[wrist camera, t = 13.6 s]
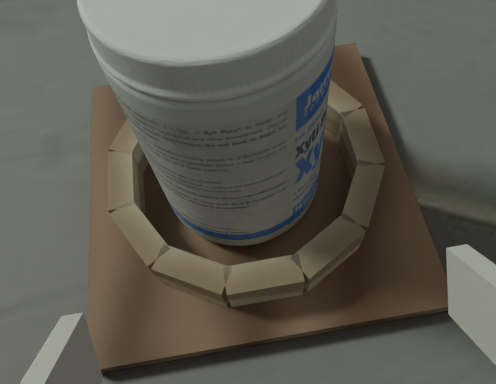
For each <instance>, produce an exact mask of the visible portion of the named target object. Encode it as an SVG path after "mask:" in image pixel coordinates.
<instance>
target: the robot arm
mask: <svg viewBox="0 0 496 384" xmlns="http://www.w3.org/2000/svg"><path fill="white" fill-rule="evenodd" d="M446 258H447V286H448V314H449V316H450V317H451V318H452V319H453V320H454V321H455V322H456V323H457V324H458V325H459V326H460V327H461V328H462V330H463V331H464V332H465V333H466V334H467V335H468V336H469V337H470V338H471V339H472V340H473V341H474V342H475V344H476V345H477V346H478V347H479V348H480V349H481V350H482V351H483V352H484V353H485V354H486V355H487V356H488V358H489V359H490V360H491V361H492V362H493V363H494V364H495V365H496V264H494V263H493V262H491V261H490V260H489V259H487V258H486V257H484V256H483V255H482V254H480V253H479V252H477V251H476V250H475V249H473V248H472V247H470V246H469V245H468V244H465V245H459V246H454V247H448V248H446ZM102 378H103V376H102V373H101V370H100V366H99V363H98V360H97V356H96V353H95V350H94V347H93V343H92V340H91V337H90V333H89V330H88V327H87V324H86V320H85V317H84V314H83V313H77V314H72V315H66V316H61V318H60V320H59V321H58V323H57V324H56V326H55V328H54V329H53V331H52V332H51V334H50V336H49V337H48V339H47V340H46V342H45V344H44V345H43V347H42V349H41V350H40V352H39V353H38V355H37V357H36V358H35V360H34V361H33V363H32V365H31V366H30V368H29V369H28V371H27V373H26V374H25V376H24V377H23V379H22V381H21V382H20V384H100V383H101V381H102Z"/></svg>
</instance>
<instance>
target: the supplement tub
mask: <svg viewBox="0 0 496 384" xmlns="http://www.w3.org/2000/svg"><path fill="white" fill-rule="evenodd" d="M77 5H78V10H79V13H80V16H81V18H82V20H83V23H84V25H85V27H86V30H87V32H88V37H89V41H90V44H91V47H92V49H93V51H94V53H95V55H96V58H97V60H98V62H99V64H100V66H101V68H102V70H103V72H104V74H105V76H106V78H107V80H108V83H109V85H110V87H111V89H112V90H113V92H114V94H115V96H116V98H117V100H118V102H119V104H120V106H121V108H122V110H123V112H124V114H125V116H126V118H127V120H128V122H129V124H130V126H131V128H132V130H133V132H134V134H135V136H136V138H137V140H138V142H139V144H140V146H141V148H142V150H143V152H144V154H145V156H146V158H147V160H148V162H149V164H150V166H151V168H152V170H153V171H154V173H155V175H156V177H157V179H158V181H159V183H160V185H161V187H162V189H163V191H164V193H165V195H166V197H167V199H168V201H169V203H170V205H171V207H172V209H173V210H174V212H175V213H176V215H177V216H178V218H179V219H180V220H181V221H182V222H183V224H184V225H185V226H187V227H188V228H189V229H190V230H191V231H193V232H194V233H196V234H197V235H199V236H201V237H203V238H205V239H207V240H210V241H212V242H215V243H219V244H225V245H232V246H246V245H253V244H258V243H262V242H265V241H268V240H271V239H273V238H275V237H278V236H279V235H281V234H283V233H285V232H286V231H288V230H289V229H290V228H292V227H293V226H294V225H295V224H296V223H297V222H298V221H299V220H300V219H301V218H302V217H303V216H304V214H305V213H306V212H307V210H308V209H309V207H310V205H311V203H312V201H313V199H314V196H315V193H316V189H317V185H318V178H319V170H320V162H321V153H322V145H323V138H324V129H325V121H326V111H327V104H328V95H329V87H330V79H331V70H332V62H333V54H334V45H335V34H336V25H337V13H338V0H77Z"/></svg>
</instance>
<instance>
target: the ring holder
mask: <svg viewBox="0 0 496 384" xmlns="http://www.w3.org/2000/svg"><path fill="white" fill-rule="evenodd" d="M443 311H448V286H447V276H446V273H445V271H444V268H443V265H442V263H441V260H440V258H439V255H438V253H437V250H436V248H435V245H434V243H433V240H432V237H431V235H430V232H429V230H428V227H427V225H426V222H425V220H424V217H423V215H422V212H421V209H420V207H419V204H418V202H417V199H416V197H415V194H414V192H413V189H412V187H411V184H410V181H409V179H408V176H407V174H406V171H405V169H404V166H403V164H402V161H401V159H400V156H399V153H398V151H397V148H396V146H395V143H394V141H393V138H392V136H391V133H390V131H389V128H388V125H387V123H386V120H385V118H384V115H383V113H382V110H381V108H380V105H379V103H378V100H377V97H376V95H375V92H374V90H373V87H372V85H371V82H370V80H369V77H368V74H367V72H366V69H365V67H364V64H363V62H362V59H361V57H360V54H359V52H358V49H357V46H356V44H355V43H352V44H346V45H340V46H334V54H333V62H332V70H331V79H330V87H329V95H328V104H327V111H326V121H325V129H324V138H323V145H322V153H321V162H320V170H319V178H318V185H317V189H316V193H315V196H314V199H313V201H312V203H311V205H310V207H309V209H308V210H307V212H306V213H305V214H304V216H303V217H302V218H301V219H300V220H299V221H298V222H297V223H296V224H295V225H294V226H293V227H292V228H290V229H289V230H288V231H286V232H285V233H283V234H281V235H279V236H278V237H275V238H273V239H271V240H268V241H265V242H262V243H258V244H253V245H246V246H232V245H225V244H219V243H215V242H212V241H210V240H207V239H205V238H203V237H201V236H199V235H197V234H196V233H194V232H193V231H191V230H190V229H189V228H188V227H187V226H185V225H184V224H183V222H182V221H181V220H180V219H179V218H178V216H177V215H176V213H175V212H174V210H173V209H172V207H171V205H170V203H169V201H168V199H167V197H166V195H165V193H164V191H163V189H162V187H161V185H160V183H159V181H158V179H157V177H156V175H155V173H154V171H153V170H152V168H151V166H150V164H149V162H148V160H147V158H146V156H145V154H144V152H143V150H142V148H141V146H140V144H139V142H138V140H137V138H136V136H135V134H134V132H133V130H132V128H131V126H130V124H129V122H128V120H127V118H126V116H125V114H124V112H123V110H122V108H121V106H120V104H119V102H118V100H117V98H116V96H115V94H114V92H113V90H112V89H111V87H110V85H105V86H99V87H93V88H92V121H91V186H90V251H89V316H88V330H89V333H90V337H91V340H92V343H93V347H94V350H95V353H96V356H97V360H98V363H99V366H100V370H101V373H105V372H111V371H116V370H122V369H127V368H133V367H138V366H144V365H150V364H155V363H161V362H166V361H172V360H177V359H183V358H188V357H194V356H199V355H205V354H211V353H216V352H222V351H227V350H233V349H238V348H244V347H249V346H255V345H260V344H266V343H272V342H277V341H283V340H288V339H294V338H299V337H305V336H310V335H316V334H321V333H327V332H332V331H338V330H344V329H349V328H355V327H360V326H366V325H371V324H377V323H382V322H388V321H393V320H399V319H405V318H410V317H416V316H421V315H427V314H432V313H438V312H443Z"/></svg>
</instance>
